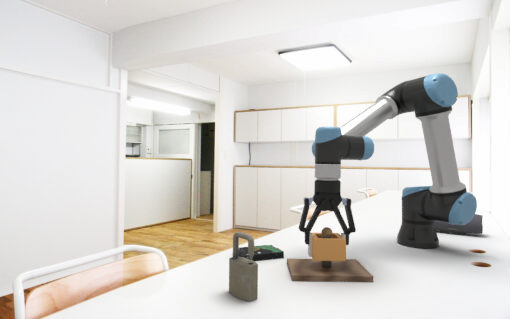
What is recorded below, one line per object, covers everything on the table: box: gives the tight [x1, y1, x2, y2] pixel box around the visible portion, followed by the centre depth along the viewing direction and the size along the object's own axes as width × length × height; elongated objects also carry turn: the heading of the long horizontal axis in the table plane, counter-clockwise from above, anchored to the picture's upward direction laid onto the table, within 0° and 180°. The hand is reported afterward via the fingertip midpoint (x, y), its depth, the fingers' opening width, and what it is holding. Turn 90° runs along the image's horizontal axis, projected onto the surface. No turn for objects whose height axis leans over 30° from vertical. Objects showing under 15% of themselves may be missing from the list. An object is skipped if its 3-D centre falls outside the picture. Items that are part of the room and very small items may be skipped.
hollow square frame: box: [311, 232, 347, 261], centre depth 99 cm, size 9×9×6 cm
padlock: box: [228, 231, 259, 302], centre depth 81 cm, size 4×8×15 cm, turn 40°
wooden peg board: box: [286, 226, 374, 283], centre depth 99 cm, size 22×16×13 cm
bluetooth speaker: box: [434, 213, 484, 236], centre depth 157 cm, size 23×9×10 cm, turn 58°
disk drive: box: [238, 244, 285, 262], centre depth 115 cm, size 10×3×15 cm
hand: (326, 255), depth 99 cm, fingers closed on hollow square frame, 9 cm apart
